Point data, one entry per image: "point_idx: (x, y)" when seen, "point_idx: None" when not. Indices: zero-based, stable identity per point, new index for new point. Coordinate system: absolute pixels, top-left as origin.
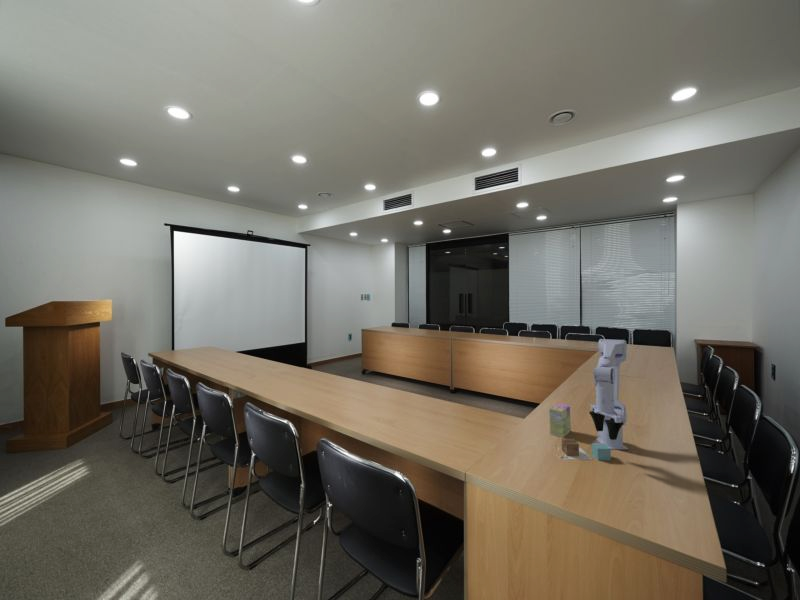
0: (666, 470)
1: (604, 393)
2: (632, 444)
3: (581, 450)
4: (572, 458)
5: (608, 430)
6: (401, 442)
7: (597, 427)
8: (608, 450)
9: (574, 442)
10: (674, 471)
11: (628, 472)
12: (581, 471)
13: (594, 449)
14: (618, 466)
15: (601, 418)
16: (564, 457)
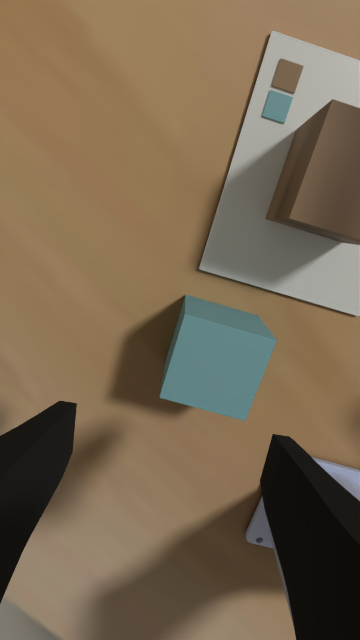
0: None
1: None
2: None
3: (323, 293)
4: (248, 142)
5: (25, 446)
6: None
7: (285, 464)
8: (163, 379)
9: (327, 203)
10: None
11: (36, 350)
12: (85, 74)
13: (228, 319)
14: (102, 352)
15: (312, 626)
16: (279, 92)
